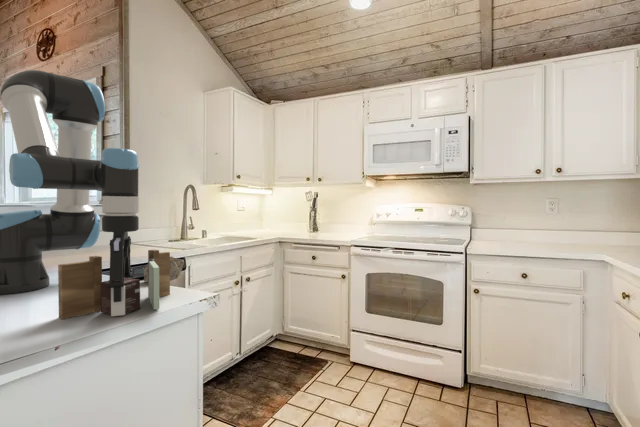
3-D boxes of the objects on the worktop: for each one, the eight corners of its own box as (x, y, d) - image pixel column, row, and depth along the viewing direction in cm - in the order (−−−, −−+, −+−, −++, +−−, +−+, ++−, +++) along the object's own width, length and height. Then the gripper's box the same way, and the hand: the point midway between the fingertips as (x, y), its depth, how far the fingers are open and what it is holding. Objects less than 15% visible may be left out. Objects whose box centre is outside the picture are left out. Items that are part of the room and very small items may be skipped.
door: (148, 299, 92) (148, 258, 92) (153, 298, 93) (153, 258, 93) (153, 311, 82) (153, 265, 82) (159, 310, 83) (159, 265, 83)
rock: (144, 281, 108) (154, 250, 111) (139, 281, 113) (148, 251, 116) (182, 288, 115) (190, 259, 118) (175, 287, 120) (183, 259, 123)
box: (118, 316, 78) (118, 284, 78) (99, 313, 80) (99, 282, 80) (141, 308, 84) (140, 279, 84) (122, 306, 86) (122, 277, 86)
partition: (58, 317, 77) (57, 260, 77) (165, 293, 99) (165, 248, 99) (63, 319, 76) (62, 261, 76) (170, 294, 98) (170, 249, 97)
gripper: (110, 213, 90) (110, 299, 90) (91, 216, 70) (92, 326, 71) (142, 213, 93) (142, 296, 93) (133, 216, 73) (133, 321, 74)
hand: (121, 309), depth 82 cm, fingers closed on box, 8 cm apart
